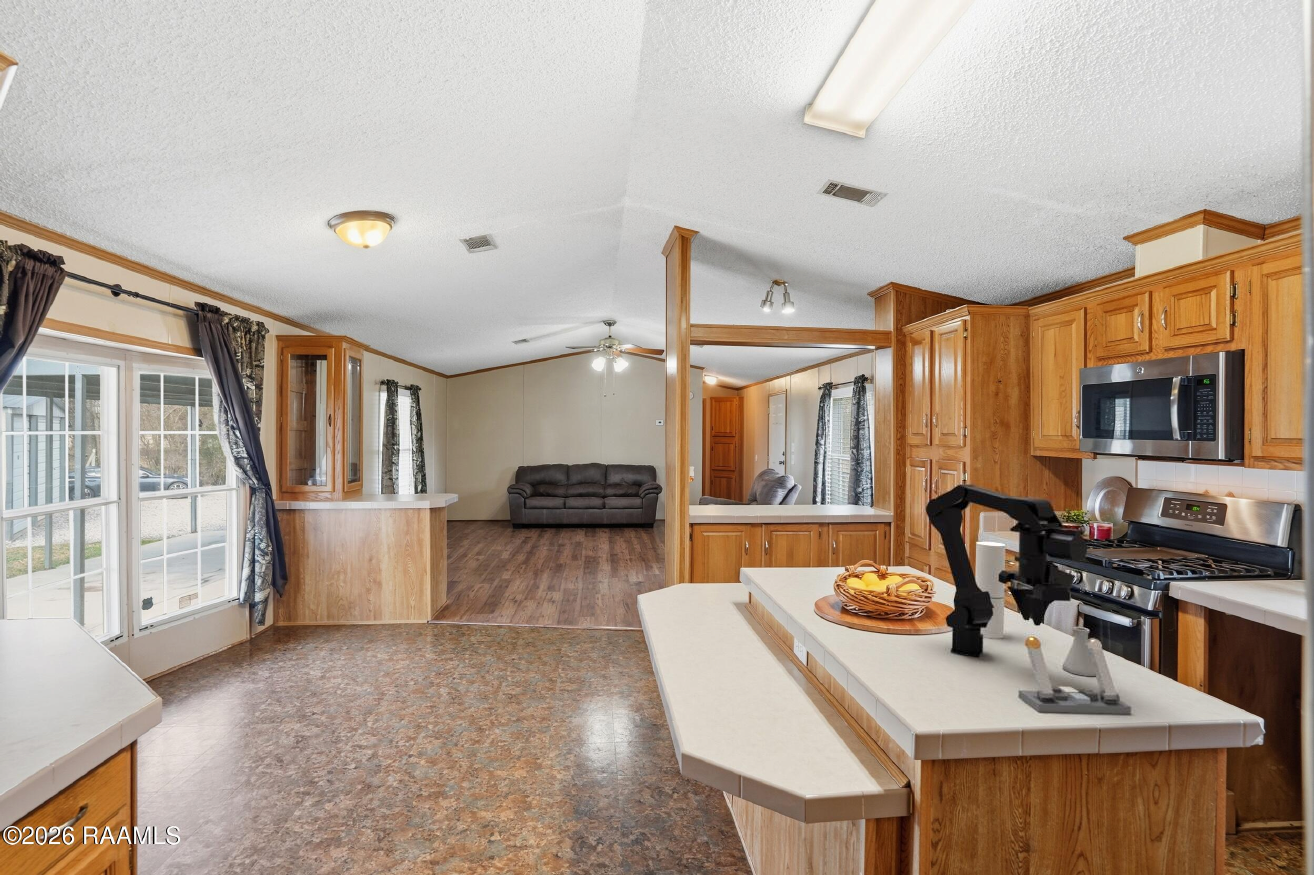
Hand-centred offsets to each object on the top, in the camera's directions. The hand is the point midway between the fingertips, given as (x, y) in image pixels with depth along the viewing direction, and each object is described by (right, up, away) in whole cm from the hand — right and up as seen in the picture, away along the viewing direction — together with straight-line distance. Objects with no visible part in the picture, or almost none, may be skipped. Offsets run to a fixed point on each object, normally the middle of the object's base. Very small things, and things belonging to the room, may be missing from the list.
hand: (1031, 622), depth 145 cm
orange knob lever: (-7, -9, -18) cm, 21 cm away
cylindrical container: (+6, -12, +31) cm, 34 cm away
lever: (+5, -10, -18) cm, 21 cm away
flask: (+13, -13, +4) cm, 19 cm away
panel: (-1, -12, -16) cm, 20 cm away
